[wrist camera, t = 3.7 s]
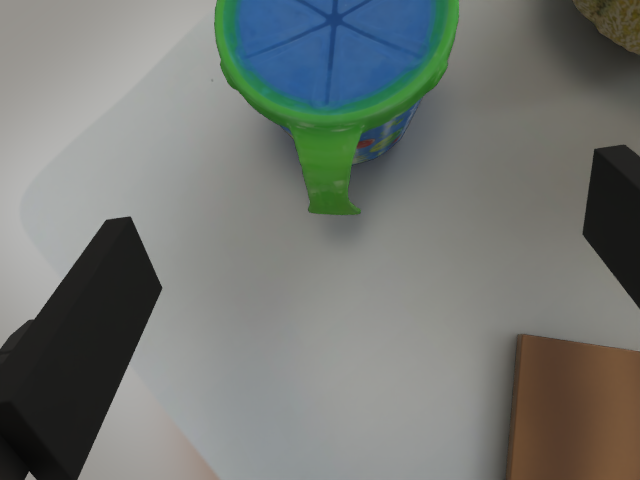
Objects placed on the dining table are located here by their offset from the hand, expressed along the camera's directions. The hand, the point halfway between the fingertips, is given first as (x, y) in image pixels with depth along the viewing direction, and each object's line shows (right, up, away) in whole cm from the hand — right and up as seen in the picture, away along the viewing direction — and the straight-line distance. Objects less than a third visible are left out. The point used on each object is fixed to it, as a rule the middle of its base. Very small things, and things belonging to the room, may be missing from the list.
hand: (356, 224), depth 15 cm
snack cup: (+1, +7, +17) cm, 18 cm away
